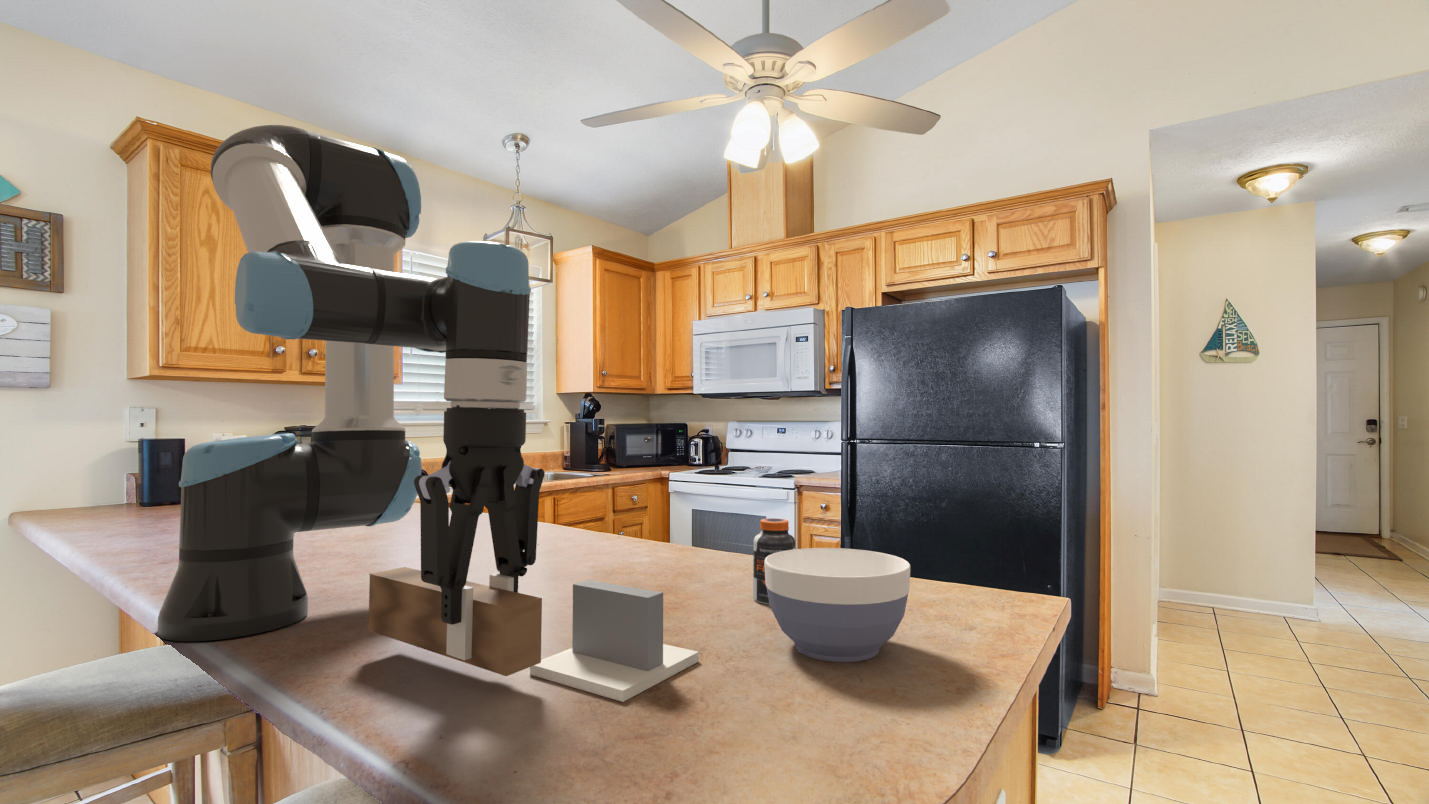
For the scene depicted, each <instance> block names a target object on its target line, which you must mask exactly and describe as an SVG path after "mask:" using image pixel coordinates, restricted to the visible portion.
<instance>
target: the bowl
mask: <svg viewBox="0 0 1429 804" xmlns="http://www.w3.org/2000/svg"><path fill="white" fill-rule="evenodd" d="M764 567H765V583H766V588H767V593H768V598H769V604H768V605H769V607H770V609H771V611H772V613H773V615H774V617H775V620H776V621H777V624H778V625H779V627H780V630H781V631H782V632H783V633H784V634H785V635H786V636H787V637H788V638H789V639H790V640H791V641H792V642H793V643H794V647H795V649H796V651H798V652H799V653H800V654H802V655H804V656H806V657H808V658H811V659H815V660H819V661H822V662H823V661H825V662H830V663H856V662H863V661H867V660H870V659H873V658H875V657H876V656H877V655H878V654H879V652H880V648H881V647H882V646H884V644H886V643H887V642H888V641H889V640H890V639H892V638H893V637H894V636H895V633H896V631H897V630H898V628H899V626H900V624H901V622H902V620H903V618H904V617H905V614H906V608H907V603H908V598H909V593H910V583H911V564H910V563H909V561H907V560H906V559H904V558H902V557H899V556H897V555H894V554H888V553H884V552H881V551H879V552H878V551H874V550H873V551H872V550H866V549H856V548H855V549H854V548H842V547H808V548H797V549H796V548H795V549H794V550H787V551H781V552H777V553H773V554H771V555H769V556H767V557H766V558H765V561H764Z"/></svg>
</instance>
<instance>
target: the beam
mask: <svg viewBox="0 0 1429 804" xmlns="http://www.w3.org/2000/svg"><path fill="white" fill-rule="evenodd" d="M465 586H469V587H473V617H472V654H471V658H470V659H467V660H462V659H459V658H456V657H453V656H450V655H447V654H446V649H447V623H444V622H443V621H442V619H441V593H442V591H441V587H440V586H437V585H433V584H429V583H425V582H423V581H422V580H421V569H420V570H418V569H415V568H410V567H406V566H403V567H399V568H393V569H388V570H383V571H377V572H372V573H369V586H368V587H369V590H368V591H369V592H368V593H369V594H368V595H369V596H368V599H369V600H368V630H367V631H369V632H372V633H375V634H378V635H381V636H383V637H387V638H390V639H393V640H395V641H399V642H402V643H405V644H408V645H411V646H414V647H416V648H420V649H422V650H425V651H429V652H432V653H435V654H438V655H441V656H444V657H447V658H451V659H453V660H456V661H460V662H462V663H465V664H468V665H471V666H474V667H477V668H480V669H483V670H486V671H489V672H492V673H494V674H498V675H501V676H504V677H509V676H511V675H514V674H516V673H519V672H521V671H524V670H527V669H528V668H529V669H530V667H531V666H534V665H536V664H539V663H541V660H542V625H543V623H542V621H543V620H542V615H543V613H542V612H543V611H542V610H543V598H542V597H538V596H534V595H530V594H525V593H521V592H518V593H517V592H513V591H508V590H503V589H499V588H494V587H490V586H489V585H485V584H480V583H478V582H477V583H476V582H472V581H468V580H466V584H465Z"/></svg>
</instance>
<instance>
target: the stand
mask: <svg viewBox="0 0 1429 804" xmlns="http://www.w3.org/2000/svg"><path fill="white" fill-rule="evenodd" d="M571 645H572V647H569V648H568V649H565V650H563V651H561V652H558V653H555V654H553V655H550V656H548V657H545V658H543V659H542V658H541V663H539V664H536V665H534V666H531V667H529V675H531V676H533V677H537V678H540V679H544V680H548V681H551V682H554V683H558V684H561V685H564V686H567V687H571V688H575V689H577V690H580V691H583V692H584V691H585V692H588V693H592V694H595V695H597V696H602V697H604V698H608V699H612V700H615V701H619V702H622V703H624V702H626V701H628V700H630V699H631V698H633V697H635V696H637V695H639V694H641V693H643V692H645V691H646V690H648V689H650V688H653V686H656V685H657V684H659V683H661V682H663V681H665V680H667V679H668V678H671V677H672V676H674V675H676V674H678V673H679V672H682V671H683V670H686V669H687V668H689V667H691V666H693V665H695V664H696V663H699V661H700V659H699V655H700V654H699V653H700V652H699V651H697V650H692V649H688V648H683V647H679V646H674V645H669V644H666V643H664V592H662V591H656V590H650V589H644V588H638V587H634V586H627V585H621V584H617V583H615V584H614V583H610V582H603V581H599V580H592V579H587V580H583V581H581V582H576V583H572V644H571Z"/></svg>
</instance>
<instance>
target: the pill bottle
mask: <svg viewBox="0 0 1429 804" xmlns="http://www.w3.org/2000/svg"><path fill="white" fill-rule="evenodd" d="M759 525H760V526H759V529H760V532H759V533H758V534H756V535H755V537H754V538H753V558H752V559H753V560H752V561H753V564H752V567H753V573H752V574H753V575H752V576H753V578H752V579H753V580H752V581H753V582H752V585H753V586H752V587H753V588H752V596H753V597H752V598H753V600H754V601H756V602H757V603H760V604H764V605H770V604H769V598H768V593H767V588H766V583H765V567H764V561H765V558H766V557H767V556H769V555H771V554H773V553H777V552H781V551H787V550H794V549H796V538H795V537H794V535H792V534H790V533H789V529H790V527H789V520H787V519H785V518H784V519H783V518H776V517H775V518H773V517H772V518H771V517H769V518H763V519H762V518H761V519H760V522H759Z"/></svg>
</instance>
